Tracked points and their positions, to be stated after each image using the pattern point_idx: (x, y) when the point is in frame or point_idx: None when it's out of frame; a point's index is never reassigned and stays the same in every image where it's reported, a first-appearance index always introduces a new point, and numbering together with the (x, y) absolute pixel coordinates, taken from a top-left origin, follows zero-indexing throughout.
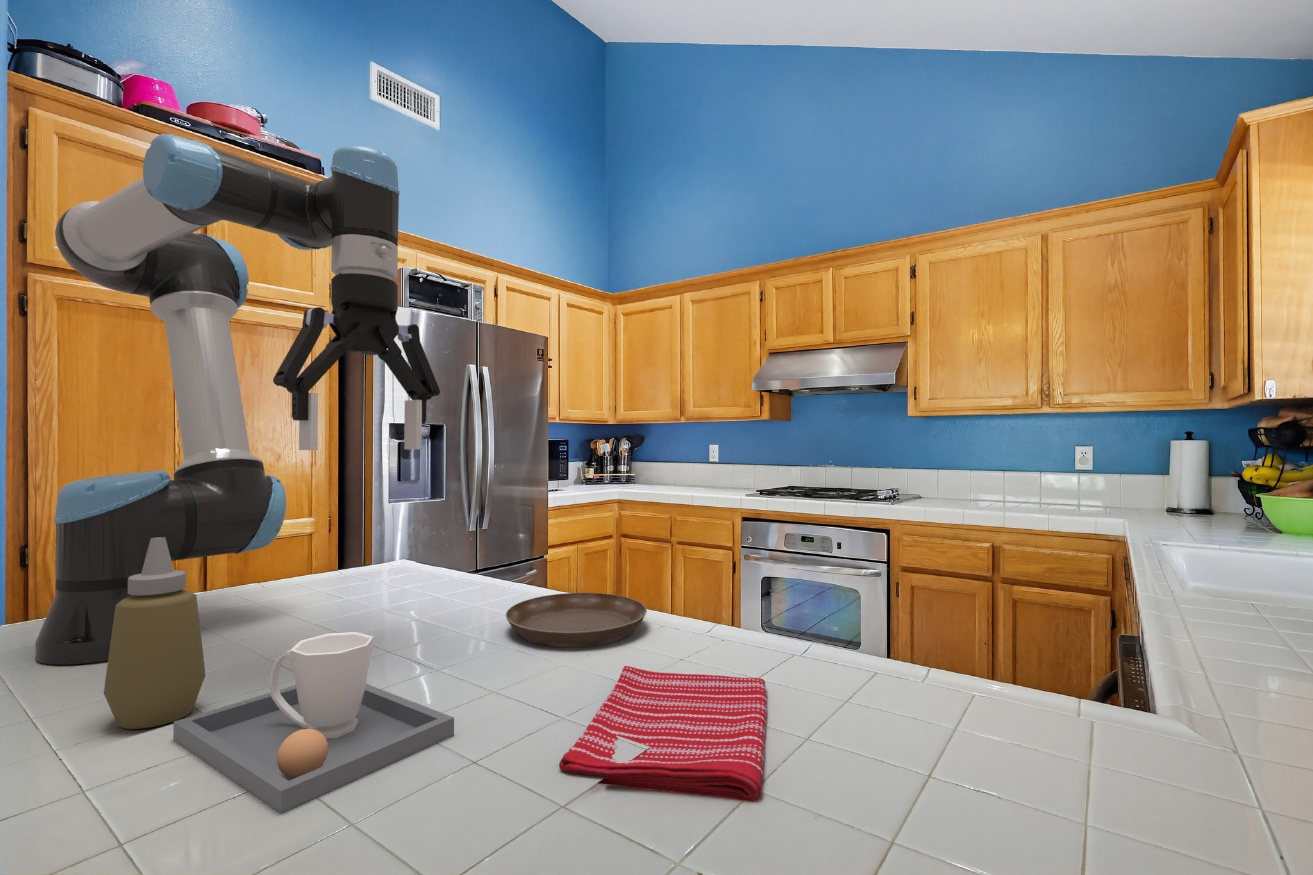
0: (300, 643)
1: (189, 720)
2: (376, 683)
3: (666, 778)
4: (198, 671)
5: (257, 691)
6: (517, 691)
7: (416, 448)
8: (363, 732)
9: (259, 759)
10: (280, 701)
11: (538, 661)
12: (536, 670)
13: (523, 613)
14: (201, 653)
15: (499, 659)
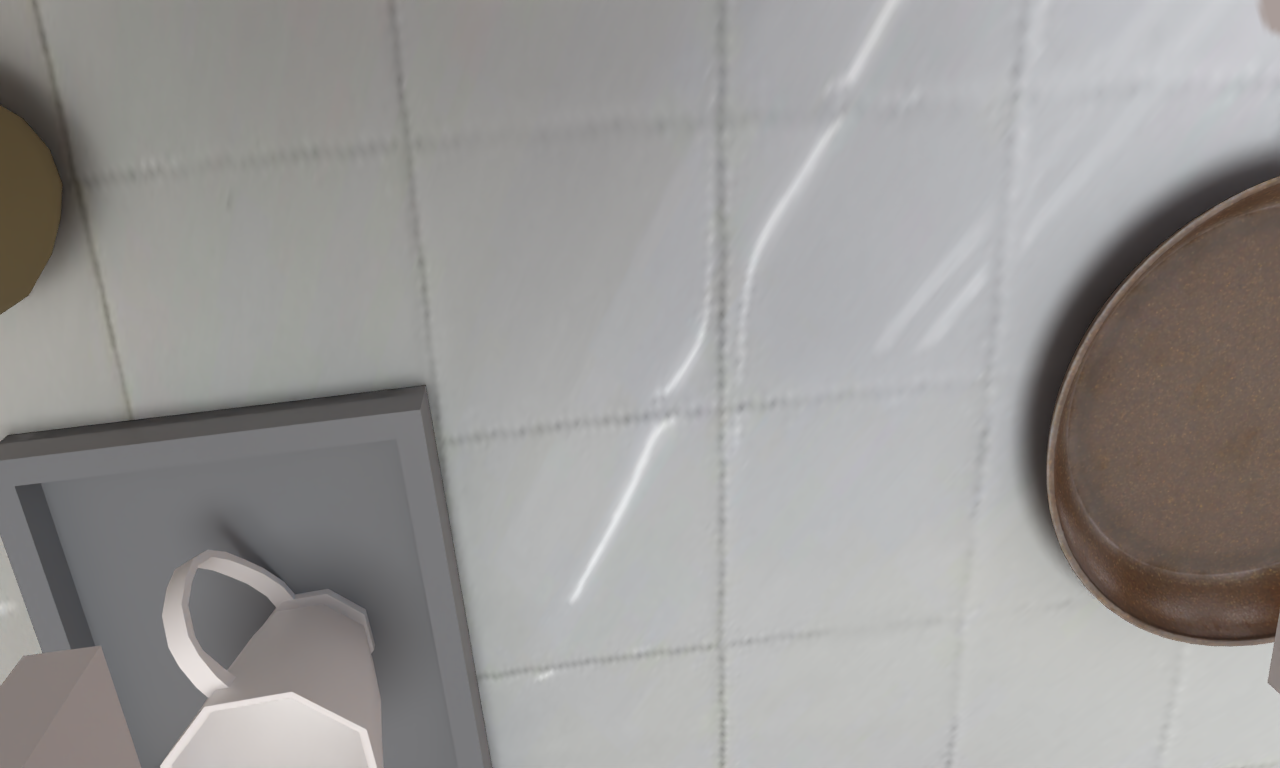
0: (200, 725)
1: (10, 484)
2: (543, 381)
3: None
4: (15, 298)
5: (253, 176)
6: (757, 679)
7: (1277, 683)
8: None
9: (152, 671)
10: (212, 565)
11: (943, 552)
12: (888, 602)
13: (1257, 195)
14: (2, 279)
15: (891, 462)
